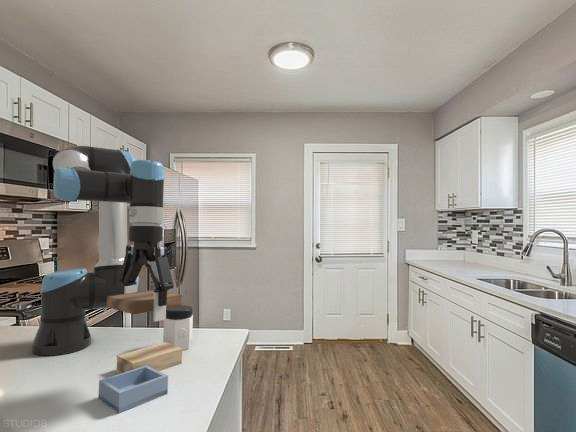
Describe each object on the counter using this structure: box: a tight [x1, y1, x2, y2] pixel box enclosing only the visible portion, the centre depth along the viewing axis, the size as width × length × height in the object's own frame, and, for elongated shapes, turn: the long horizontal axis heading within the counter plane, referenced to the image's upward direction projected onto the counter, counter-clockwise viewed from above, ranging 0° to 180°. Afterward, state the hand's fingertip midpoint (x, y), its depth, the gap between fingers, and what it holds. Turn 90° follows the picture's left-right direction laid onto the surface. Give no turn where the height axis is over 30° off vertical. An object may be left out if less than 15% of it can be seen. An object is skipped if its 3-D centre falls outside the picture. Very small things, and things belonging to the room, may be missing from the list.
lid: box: [107, 289, 182, 315], centre depth 84 cm, size 12×12×2 cm
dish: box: [98, 365, 169, 414], centre depth 78 cm, size 9×11×4 cm
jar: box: [162, 304, 194, 351], centre depth 110 cm, size 9×8×12 cm
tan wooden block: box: [116, 342, 183, 374], centre depth 94 cm, size 8×14×4 cm, turn 142°
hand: (144, 316), depth 84 cm, fingers closed on lid, 12 cm apart
